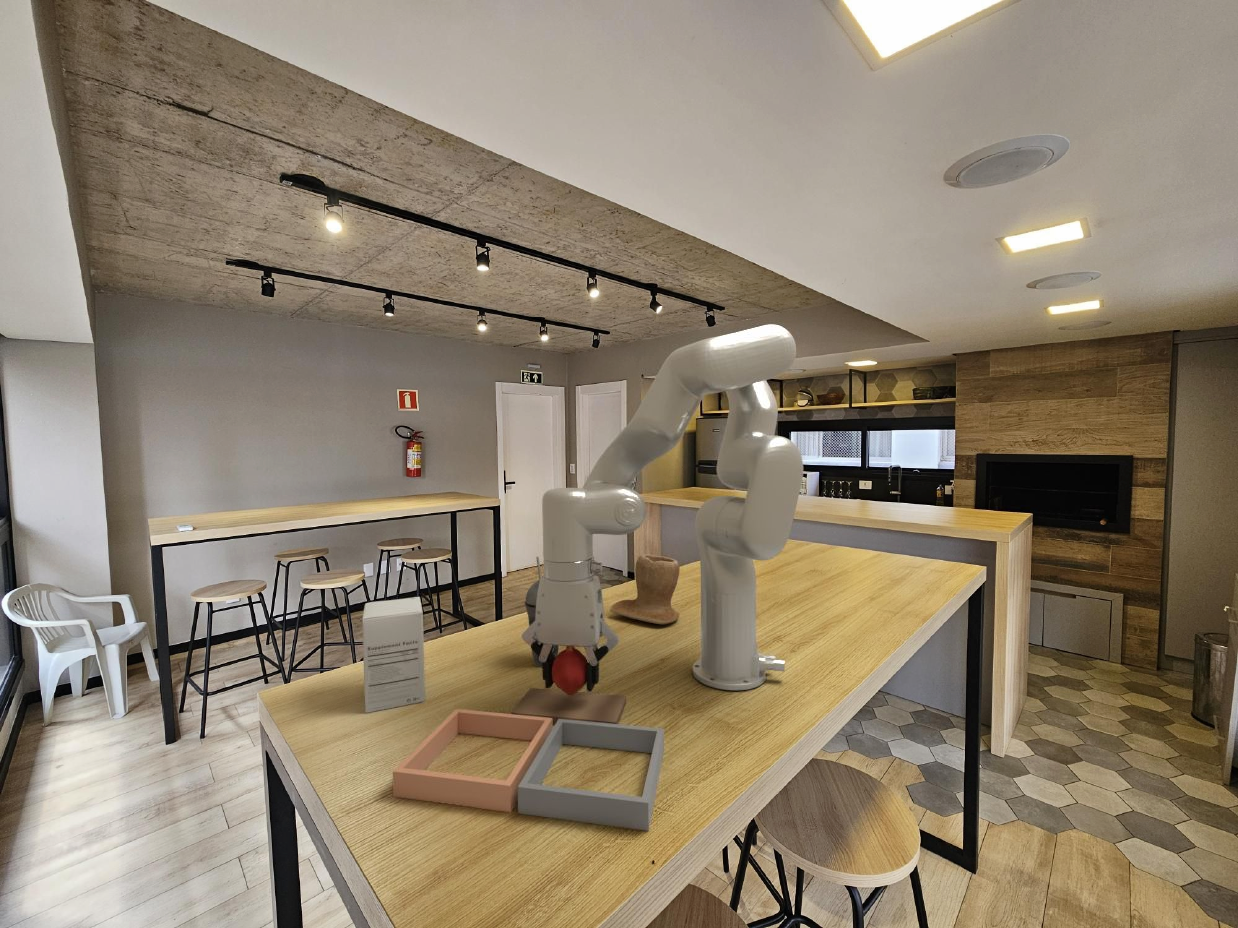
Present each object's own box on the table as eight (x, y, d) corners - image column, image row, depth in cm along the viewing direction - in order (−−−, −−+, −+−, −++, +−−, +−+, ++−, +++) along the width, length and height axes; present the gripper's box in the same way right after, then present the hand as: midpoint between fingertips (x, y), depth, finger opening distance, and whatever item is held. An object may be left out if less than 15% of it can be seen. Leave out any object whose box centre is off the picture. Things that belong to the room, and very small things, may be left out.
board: (626, 703, 82) (626, 695, 82) (615, 730, 74) (615, 722, 74) (530, 694, 85) (530, 687, 85) (510, 720, 77) (510, 712, 77)
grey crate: (664, 750, 69) (663, 728, 69) (648, 830, 55) (648, 802, 54) (559, 739, 72) (558, 718, 72) (518, 813, 57) (517, 786, 57)
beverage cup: (557, 671, 94) (555, 561, 93) (519, 668, 95) (517, 560, 95) (569, 655, 101) (567, 553, 100) (534, 652, 102) (532, 552, 102)
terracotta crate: (552, 739, 72) (552, 717, 72) (510, 812, 58) (510, 785, 57) (456, 729, 75) (455, 708, 75) (393, 796, 60) (392, 771, 60)
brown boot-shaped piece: (690, 617, 122) (689, 554, 122) (662, 632, 113) (661, 564, 112) (638, 606, 132) (638, 547, 131) (608, 618, 122) (608, 555, 122)
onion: (552, 686, 82) (551, 637, 82) (589, 684, 83) (588, 635, 82) (551, 705, 76) (550, 651, 76) (590, 702, 77) (589, 649, 76)
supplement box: (366, 689, 88) (364, 601, 87) (423, 679, 91) (420, 595, 91) (363, 714, 79) (360, 618, 79) (425, 702, 83) (423, 610, 82)
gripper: (628, 565, 81) (630, 679, 81) (524, 562, 84) (527, 671, 85) (619, 577, 73) (621, 702, 74) (505, 573, 77) (508, 693, 77)
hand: (570, 684), depth 79 cm, fingers closed on onion, 5 cm apart
